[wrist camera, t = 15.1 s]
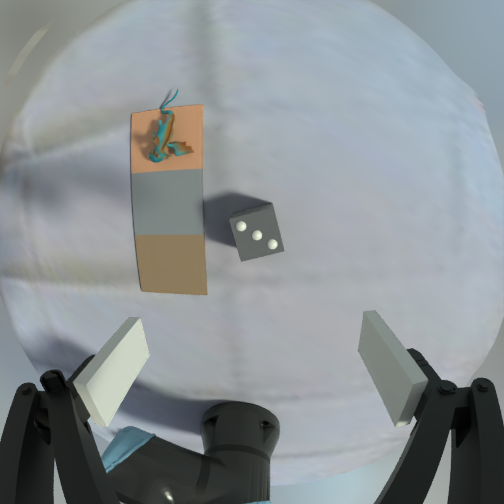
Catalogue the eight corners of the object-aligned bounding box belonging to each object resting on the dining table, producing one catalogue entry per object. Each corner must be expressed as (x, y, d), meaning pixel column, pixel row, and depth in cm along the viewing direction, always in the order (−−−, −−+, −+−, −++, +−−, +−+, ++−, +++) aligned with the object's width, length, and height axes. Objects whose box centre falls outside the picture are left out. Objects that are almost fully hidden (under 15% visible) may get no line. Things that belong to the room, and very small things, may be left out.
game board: (207, 294, 38) (206, 295, 38) (142, 290, 38) (141, 291, 38) (202, 104, 31) (202, 104, 31) (132, 114, 31) (132, 113, 31)
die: (281, 240, 36) (284, 251, 31) (244, 249, 36) (241, 261, 31) (272, 202, 34) (273, 207, 29) (233, 212, 35) (228, 219, 30)
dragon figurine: (125, 117, 30) (131, 164, 29) (158, 80, 26) (168, 126, 25) (161, 128, 36) (172, 172, 35) (195, 96, 32) (210, 140, 31)
